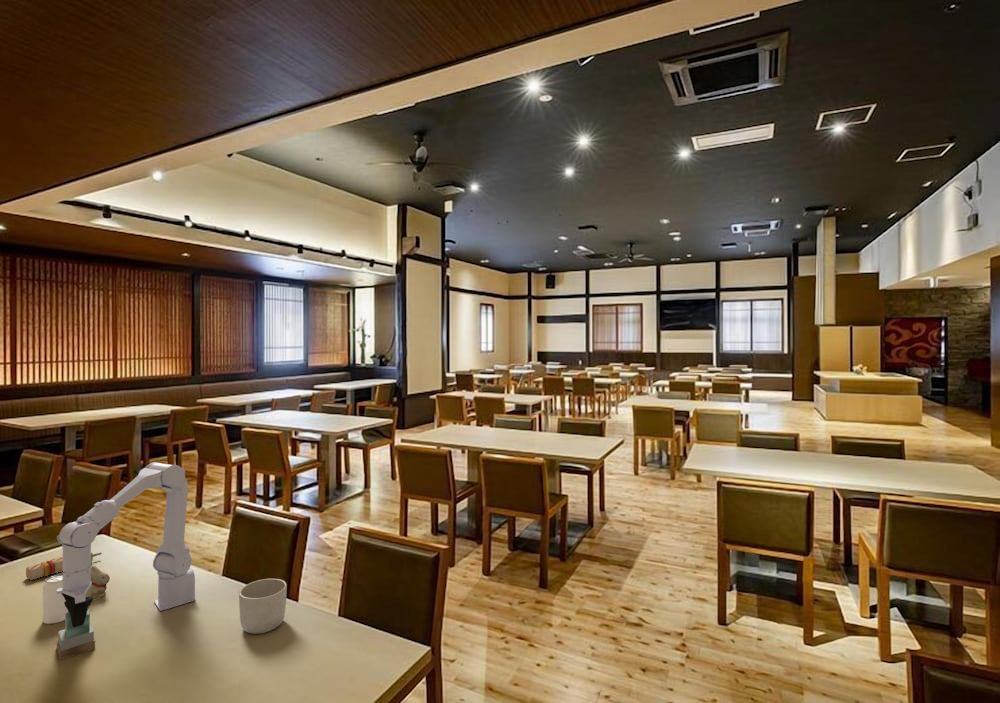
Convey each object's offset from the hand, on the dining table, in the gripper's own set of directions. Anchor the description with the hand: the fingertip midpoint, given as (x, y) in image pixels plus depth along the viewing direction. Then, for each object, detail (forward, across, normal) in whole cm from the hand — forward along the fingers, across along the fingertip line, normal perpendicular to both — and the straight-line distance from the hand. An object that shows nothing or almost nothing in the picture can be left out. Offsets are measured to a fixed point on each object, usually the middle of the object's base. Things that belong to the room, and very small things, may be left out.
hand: (76, 620), depth 133 cm
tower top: (+5, 0, 0) cm, 5 cm away
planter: (+8, +23, +39) cm, 46 cm away
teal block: (+3, 0, 0) cm, 3 cm away
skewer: (+8, -62, +4) cm, 63 cm away
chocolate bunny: (+8, -31, +7) cm, 33 cm away
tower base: (+8, 0, 0) cm, 8 cm away
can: (+8, -22, -2) cm, 23 cm away
